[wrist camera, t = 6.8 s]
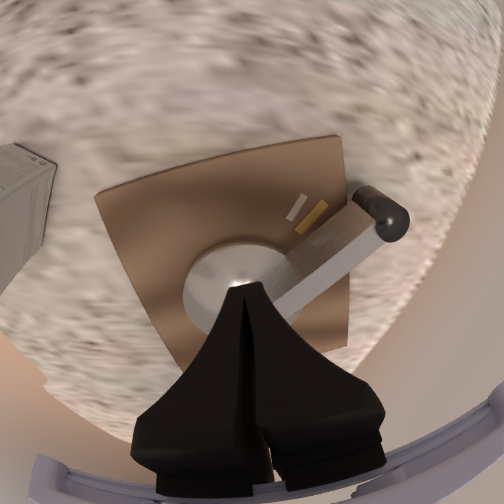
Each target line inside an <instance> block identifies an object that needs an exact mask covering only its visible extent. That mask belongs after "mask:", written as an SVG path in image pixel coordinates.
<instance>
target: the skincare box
mask: <svg viewBox="0 0 504 504" xmlns="http://www.w3.org/2000/svg"><path fill="white" fill-rule="evenodd" d="M55 170H56V165H54V164H52V163H51V162H49V161H47V160H44V159H42V158H40V157H38V156H37V155H35V154H33V153H31V152H29V151H28V150H26V149H24V148H22V147H20V146H18V145H16V144H8V145H5V146H3V147H1V148H0V295H1V294H2V293H3V291H4V290H5V289H6V287H7V286H8V285H9V283H10V282H11V281H12V280H13V278H14V277H15V276H16V275H17V273H18V272H19V271H20V270H21V269H22V267H23V266H24V265H25V264H26V263H27V261H28V260H29V259H30V258H31V257H32V256H33V255H34V253H35V252H36V251H37V250H38V249H39V248H40V247H41V246H42V239H43V232H44V225H45V218H46V212H47V207H48V201H49V196H50V191H51V186H52V181H53V177H54V173H55Z"/></svg>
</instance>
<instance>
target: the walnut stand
mask: <svg viewBox="0 0 504 504" xmlns="http://www.w3.org/2000/svg"><path fill="white" fill-rule="evenodd" d="M94 199H95V202H96V204H97V207H98V210H99V212H100V215H101V217H102V220H103V222H104V225H105V227H106V229H107V232H108V234H109V236H110V239H111V241H112V243H113V246H114V248H115V250H116V252H117V255H118V257H119V259H120V261H121V263H122V265H123V267H124V269H125V272H126V274H127V276H128V278H129V280H130V282H131V284H132V286H133V288H134V290H135V292H136V294H137V295H138V297H139V299H140V301H141V303H142V305H143V307H144V309H145V310H146V312H147V314H148V316H149V318H150V319H151V321H152V323H153V325H154V326H155V328H156V330H157V332H158V333H159V335H160V337H161V338H162V340H163V342H164V343H165V345H166V347H167V348H168V350H169V352H170V353H171V355H172V356H173V358H174V360H175V361H176V363H177V364H178V366H179V367H180V369H181V370H182V372H183V373H184V372H185V370H186V369H187V368H188V366H189V365H190V364H191V362H192V361H193V359H194V358H195V356H196V355H197V353H198V352H199V350H200V349H201V347H202V345H203V344H204V342H205V340H206V338H207V336H208V335H207V334H205V333H204V332H202V331H201V330H200V329H198V328H197V327H196V326H195V325H194V324H193V322H192V321H191V320H190V319H189V317H188V315H187V313H186V311H185V308H184V304H183V289H184V284H185V279H186V276H187V273H188V271H189V269H190V267H191V265H192V264H193V262H194V261H195V260H196V259H197V258H198V257H199V255H201V254H202V253H203V252H204V251H206V250H207V249H209V248H211V247H212V246H214V245H217V244H219V243H222V242H225V241H228V240H234V239H244V238H247V239H257V240H263V241H266V242H269V243H272V244H274V245H276V246H278V247H280V248H281V249H283V250H284V251H286V252H287V253H289V252H290V251H292V250H293V249H294V248H295V247H296V246H298V245H299V244H300V243H301V242H303V241H304V240H305V239H306V238H307V237H309V236H310V235H311V234H312V233H314V232H315V231H316V230H317V229H318V228H320V227H321V226H322V225H323V224H324V223H326V222H327V221H328V220H329V219H330V218H332V217H333V216H334V215H335V214H336V213H338V212H339V211H340V210H341V209H342V208H344V207H345V206H346V205H347V193H346V180H345V169H344V160H343V151H342V142H341V137H340V136H337V135H331V136H323V137H316V138H309V139H302V140H296V141H290V142H284V143H278V144H273V145H267V146H262V147H257V148H252V149H247V150H243V151H238V152H233V153H229V154H225V155H220V156H216V157H212V158H208V159H204V160H200V161H196V162H193V163H189V164H185V165H182V166H178V167H175V168H171V169H168V170H164V171H161V172H158V173H154V174H151V175H148V176H145V177H142V178H139V179H136V180H133V181H130V182H127V183H124V184H121V185H118V186H115V187H113V188H110V189H107V190H104V191H102V192H99V193H98V194H97V195H95V196H94ZM348 319H349V272H348V273H347V274H346V275H344V276H343V277H342V278H341V279H339V280H338V281H337V282H335V283H334V284H333V285H331V286H330V287H329V288H328V289H326V290H325V291H324V292H322V293H321V294H320V295H318V296H317V297H316V298H314V299H313V300H311V301H310V302H309V303H307V304H306V305H305V306H303V309H302V311H301V313H300V314H299V316H298V317H297V319H296V320H295V321H294V322H293V323H292V324H291V325H290V326H291V327H292V328H293V329H294V330H295V331H296V332H297V333H298V334H299V335H300V336H301V337H302V338H303V339H304V340H305V341H306V342H307V343H308V344H309V345H310V346H312V347H313V348H314V349H315V350H316V351H318V352H319V353H323V352H327V351H330V350H334V349H338V348H341V347H345V346H347V338H348Z"/></svg>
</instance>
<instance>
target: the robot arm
mask: <svg viewBox="0 0 504 504" xmlns="http://www.w3.org/2000/svg"><path fill="white" fill-rule="evenodd" d="M385 413H386V412H385V410H384V407H383V405H382V403H381V402H380V400H379V398H378V397H377V395H376V394H375V392H374V391H373V390H372V388H371V387H370V386H369V385H368V383H366V382H365V381H363V380H361V379H359V378H357V377H355V376H353V375H352V374H350V373H348V372H346V371H345V370H343V369H342V368H340V367H338V366H337V365H335V364H334V363H332V362H331V361H330V360H328V359H327V358H326V357H324V356H323V355H322V354H320V353H319V352H318V351H316V350H315V349H314V348H313V347H312V346H310V345H309V344H308V343H307V342H306V341H305V340H304V339H303V338H302V337H301V336H300V335H299V334H298V333H297V332H296V331H295V330H294V329H293V328H292V327H291V326H290V325H289V324H288V323H287V321H286V320H285V319H284V318H283V317H282V315H281V314H280V313H279V311H278V310H277V309H276V307H275V306H274V305H273V303H272V301H271V300H270V298H269V297H268V295H267V293H266V291H265V289H264V286H263V283H262V282H260V281H257V282H253V283H248V284H243V285H238V286H233V287H229V289H228V290H227V293H226V296H225V299H224V302H223V304H222V307H221V309H220V312H219V314H218V316H217V318H216V321H215V323H214V325H213V327H212V329H211V331H210V333H209V334H208V336H207V338H206V340H205V342H204V344H203V345H202V347H201V349H200V350H199V352H198V353H197V355H196V356H195V358H194V359H193V361H192V362H191V364H190V365H189V366H188V368H187V369H186V370H185V372H184V373H183V374H182V375H181V377H180V378H179V379H178V380H177V381H176V382H175V383H174V385H173V386H172V387H171V388H170V389H169V390H168V391H167V392H166V393H165V394H164V395H163V396H162V397H161V398H160V399H159V400H158V401H157V402H156V403H155V404H153V405H152V406H151V407H150V408H149V409H148V410H146V411H145V412H144V413H143V414H142V415H140V416H139V417H138V418H137V421H136V424H135V428H134V433H133V439H132V446H131V453H130V455H131V456H132V458H133V459H134V460H135V461H136V462H137V463H139V464H140V465H142V466H144V467H146V468H147V469H149V470H151V471H153V472H155V473H156V474H157V479H156V485H153V484H144V483H137V482H130V481H124V480H118V479H113V478H108V477H103V476H98V475H94V474H90V473H86V472H82V471H78V470H75V469H71V468H68V467H67V466H66V465H64V464H63V463H61V462H59V461H57V460H55V459H53V458H50V457H47V456H44V455H41V454H37V455H36V459H35V463H34V467H33V472H32V476H31V481H30V486H29V492H28V498H29V499H30V500H32V501H34V502H36V503H37V504H262V503H270V502H278V501H285V500H291V499H297V498H302V497H308V496H313V495H317V494H321V493H325V492H329V491H333V490H337V489H341V488H345V487H348V486H351V485H355V484H358V483H361V482H364V481H367V480H370V479H373V478H376V477H378V476H380V477H378V478H376V479H373V480H371V481H369V482H366V483H364V484H361V485H359V486H358V487H357V491H355V492H353V493H352V494H351V498H352V499H348V500H344V501H341V502H337V503H332V504H437V503H439V502H441V501H443V500H444V499H446V498H447V497H449V496H450V495H452V494H454V493H455V492H456V491H458V490H460V489H461V488H463V487H464V486H465V485H467V484H468V483H469V482H471V481H473V480H474V479H475V478H476V477H478V476H479V475H481V474H482V473H483V472H484V471H486V470H487V469H488V468H489V467H491V466H492V465H493V464H494V463H495V462H497V461H498V460H499V459H500V458H501V457H502V456H503V455H504V381H503V382H502V383H501V384H499V385H498V386H497V387H496V388H495V389H494V390H493V391H492V392H491V394H490V395H489V396H488V399H486V400H485V401H483V402H482V403H480V404H479V405H478V406H476V407H474V408H473V409H471V410H470V411H468V412H467V413H465V414H464V415H462V416H460V417H459V418H457V419H455V420H454V421H452V422H450V423H448V424H446V425H445V426H443V427H441V428H439V429H437V430H435V431H433V432H432V433H430V434H428V435H426V436H424V437H422V438H419V439H417V440H415V441H413V442H411V443H409V444H407V445H404V446H402V447H399V448H397V449H395V450H392V451H390V452H387V453H385V454H384V451H383V448H382V445H381V442H382V437H381V435H380V432H379V428H380V426H381V424H382V422H383V420H384V418H385ZM269 449H270V452H271V458H270V453H269ZM271 459H272V464H271ZM272 467H273V469H272ZM273 470H276V471H277V473H278V474H279V476H280V477H281V479H282V481H279V482H274V481H275V479H274V474H273ZM386 473H387V474H386ZM381 475H382V476H381Z"/></svg>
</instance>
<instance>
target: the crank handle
mask: <svg viewBox="0 0 504 504" xmlns="http://www.w3.org/2000/svg"><path fill="white" fill-rule="evenodd" d="M409 224H410V217H409V214H408V212H407V210H406V209H405V208H403V207H402V206H400V205H399V204H398V203H396V202H395V201H393V200H392V199H390V198H389V197H387V196H386V195H384V194H383V193H381V192H380V191H378V190H377V189H375V188H374V187H372V186H363V187H360V188H359V189H357V190H356V192H355V193H354V194H353V197H352V200H351V202H350V203H348V204H347V205H346V206H345V207H344V208H342V209H341V210H340V211H339V212H338V213H336V214H335V215H334V216H333V217H332V218H330V219H329V220H328V221H327V222H326V223H324V224H323V225H322V226H321V227H320V228H318V229H317V230H316V231H315V232H314V233H312V234H311V235H310V236H309V237H307V238H306V239H305V240H304V241H303V242H301V243H300V244H299V245H298V246H296V247H295V248H294V249H293V250H292V251H290V252H289V253H287V252H286V251H284V250H283V249H281V248H280V247H278V246H276V245H274V244H272V243H269V242H266V241H263V240H257V239H247V238H244V239H234V240H228V241H225V242H222V243H219V244H217V245H214V246H212V247H211V248H209V249H207V250H206V251H204V252H203V253H202V254H201V255H199V257H198V258H197V259H196V260H195V261H194V262H193V264H192V265H191V267H190V269H189V271H188V273H187V276H186V279H185V284H184V289H183V304H184V308H185V311H186V313H187V315H188V317H189V319H190V320H191V321H192V322H193V324H194V325H195V326H196V327H197V328H198V329H200V330H201V331H202V332H204V333H205V334H207V335H208V334H209V333H210V331H211V329H212V327H213V325H214V323H215V321H216V318H217V316H218V314H219V312H220V309H221V307H222V304H223V302H224V299H225V296H226V293H227V290H228V289H229V287H233V286H238V285H243V284H248V283H253V282H257V281H260V282H262V283H263V286H264V289H265V291H266V293H267V295H268V297H269V298H270V300H271V301H272V303H273V305H274V306H275V307H276V309H277V310H278V311H279V313H280V314H281V315H282V317H283V318H284V319H285V320H286V321H287V323H288V324H289V325H291V324H292V323H293V322H294V321H295V320H296V319H297V317H298V316H299V314H300V313H301V311H302V309H303V306H305V305H306V304H307V303H309V302H310V301H311V300H313V299H314V298H316V297H317V296H318V295H320V294H321V293H322V292H324V291H325V290H326V289H328V288H329V287H330V286H331V285H333V284H334V283H335V282H337V281H338V280H339V279H341V278H342V277H343V276H344V275H346V274H347V273H348V272H350V271H351V270H352V269H353V268H355V267H356V266H357V265H358V264H360V263H361V262H362V261H363V260H364V259H366V258H367V257H368V256H369V255H371V254H372V253H373V252H374V251H375V250H377V249H378V248H379V247H380V246H381V245H383V244H384V243H385V242H395V241H398V240H399V239H401V238H402V237H403V236H404V235H405V233H406V232H407V230H408V227H409Z"/></svg>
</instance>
